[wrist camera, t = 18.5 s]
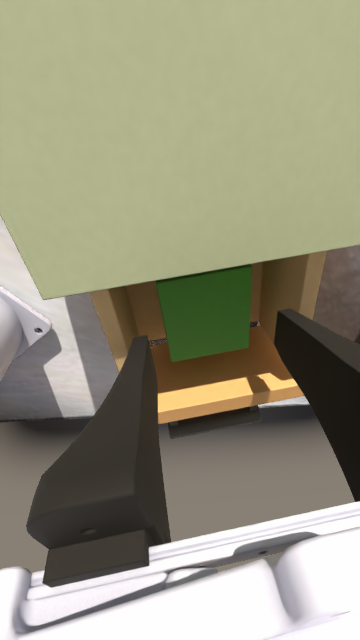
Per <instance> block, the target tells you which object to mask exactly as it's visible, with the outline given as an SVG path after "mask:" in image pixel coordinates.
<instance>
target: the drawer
mask: <svg viewBox="0 0 360 640" xmlns="http://www.w3.org/2000/svg"><path fill="white" fill-rule="evenodd" d="M326 252H327V251H322V252H317V253H311V254H305V255H299V256H294V257H288V258H282V259H277V260H271V261H265V262H259V263H254V264H251V266H252V288H251V312H250V323H251V322H256V321H259V322H260V324H261V326H256V327H250V336H249V348H245V349H240V350H234V351H229V352H224V353H218V354H213V355H208V356H202V357H197V358H191V359H186V360H181V361H175V362H172V361H171V358H170V353H169V348H168V343H163V344H157V345H152V346H150V348H151V352H152V356H153V360H154V364H155V369H156V377H157V385H158V424H162V423H167V422H168V427H169V434H170V438H171V439H174V438H179V437H184V436H189V435H194V434H199V433H204V432H209V431H214V430H219V429H224V428H230V427H235V426H240V425H245V424H250V423H255V422H259V421H261V413H260V410H259V407H258V405H260V404H265V403H270V402H275V401H280V400H285V399H291V398H296V397H301V396H304V394H303V392H302V391H301V389H300V388H299V386H298V385H297V383H296V382H295V380H294V379H293V377H292V376H291V374H290V373H289V371H288V370H287V368H286V367H285V365H284V363H283V362H282V360H281V358H280V356H279V354H278V352H277V349H276V347H275V345H274V338H275V329H276V320H277V311H279V310H284V309H292V310H294V311H296V312H298V313H300V314H302V315H304V316H305V317H307V318H309V319H311V320H312V318H313V313H314V308H315V304H316V299H317V294H318V289H319V285H320V280H321V275H322V271H323V266H324V261H325V256H326ZM89 293H90V296H91V299H92V301H93V304H94V307H95V309H96V312H97V315H98V317H99V320H100V323H101V325H102V328H103V331H104V333H105V336H106V339H107V341H108V344H109V347H110V349H111V352H112V355H113V358H114V360H115V363H116V366H117V368H118V371H119V373H120V371H121V368H122V366H123V364H124V361H125V359H126V357H127V354H128V351H129V349H130V346H131V342H132V339H133V338H134V337H139V336H144V335H147V336H148V340H149V341H152V340H158V339H163V338H166V333H165V328H164V323H163V318H162V313H161V308H160V303H159V298H158V293H157V288H156V282H155V281H150V282H145V283H139V284H133V285H127V286H122V287H116V288H110V289H105V290H99V291H93V292H89Z"/></svg>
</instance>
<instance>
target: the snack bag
mask: <svg viewBox="0 0 360 640" xmlns="http://www.w3.org/2000/svg"><path fill="white" fill-rule="evenodd" d="M155 282H156V288H157V293H158V298H159V303H160V308H161V313H162V318H163V323H164V328H165V333H166V338H167V343H168V348H169V353H170V358H171V361H172V362H175V361H181V360H186V359H191V358H197V357H202V356H208V355H213V354H218V353H224V352H229V351H234V350H240V349H245V348H249V336H250V312H251V288H252V266H251V264H248V265H242V266H236V267H231V268H225V269H219V270H213V271H208V272H202V273H196V274H191V275H185V276H179V277H173V278H168V279H162V280H156V281H155Z"/></svg>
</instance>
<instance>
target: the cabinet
mask: <svg viewBox="0 0 360 640" xmlns="http://www.w3.org/2000/svg"><path fill="white" fill-rule="evenodd" d="M0 215H1V217H2V219H3V221H4V223H5V225H6V227H7V229H8V231H9V233H10V235H11V237H12V239H13V241H14V243H15V245H16V247H17V249H18V251H19V253H20V255H21V257H22V259H23V261H24V263H25V265H26V267H27V269H28V271H29V273H30V275H31V277H32V279H33V281H34V283H35V285H36V287H37V289H38V291H39V293H40V295H41V297H42V299H43V300H47V299H53V298H59V297H64V296H70V295H76V294H82V293H87V292H93V291H99V290H105V289H110V288H116V287H122V286H127V285H133V284H139V283H145V282H150V281H156V280H162V279H168V278H173V277H179V276H185V275H191V274H196V273H202V272H208V271H213V270H219V269H225V268H231V267H236V266H242V265H248V264H254V263H259V262H265V261H271V260H277V259H282V258H288V257H294V256H299V255H305V254H311V253H317V252H322V251H328V250H334V249H340V248H345V247H351V246H357V245H360V0H0Z"/></svg>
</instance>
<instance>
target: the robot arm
mask: <svg viewBox="0 0 360 640" xmlns="http://www.w3.org/2000/svg"><path fill="white" fill-rule="evenodd" d="M36 328H40V329H41V330H42V331H39V330H37V329H36ZM51 328H52V323H51V321H49V320H48V319H47V318H45V317H44V316H42V315H41V314H40V313H38V312H37V311H35V310H34V309H33V308H31V307H30V306H28V305H27V304H25V303H24V302H23V301H21V300H20V299H18V298H17V297H15V296H14V295H13V294H11V293H10V292H8V291H7V290H5V289H4V288H3V287H1V286H0V382H1V380H2V378H3V376H4V374H5V373H6V371H7V369H8V367H9V365H10V363H11V362H12V361H13V360H15V359H16V358H17V357H18V356H20V355H21V354H22V353H23V352H24V351H26V350H27V349H28V348H29V347H31V346H32V345H33V344H34V343H35V342H37V341H38V340H39V339H40V338H42V337H43V336H44V335H45V334H46V333H48V332H49V331H50V330H51ZM274 345H275V347H276V349H277V352H278V354H279V356H280V358H281V360H282V362H283V363H284V365H285V367H286V368H287V370H288V371H289V373H290V374H291V376H292V377H293V379H294V380H295V382H296V383H297V385H298V386H299V388H300V389H301V391H302V392H303V394H304V396H305V397H306V399H307V400H308V402H309V403H310V405H311V407H312V408H313V410H314V412H315V414H316V416H317V418H318V420H319V422H320V424H321V426H322V428H323V430H324V432H325V434H326V436H327V438H328V440H329V442H330V444H331V446H332V448H333V451H334V453H335V455H336V457H337V459H338V462H339V464H340V466H341V468H342V471H343V473H344V475H345V478H346V480H347V483H348V485H349V487H350V490H351V492H352V494H353V497H354V500H355V502H353V503H349V504H344V505H340V506H336V507H331V508H326V509H322V510H317V511H312V512H308V513H303V514H299V515H294V516H290V517H286V518H281V519H276V520H271V521H267V522H263V523H258V524H253V525H249V526H244V527H240V528H235V529H230V530H226V531H221V532H217V533H212V534H208V535H203V536H199V537H194V538H189V539H185V540H180V541H176V542H171V538H170V530H169V523H168V515H167V507H166V499H165V491H164V483H163V474H162V465H161V456H160V448H159V435H158V385H157V377H156V369H155V364H154V360H153V356H152V352H151V348H150V344H149V340H148V336H147V335H144V336H139V337H134V338H133V339H132V342H131V346H130V349H129V351H128V354H127V357H126V359H125V361H124V364H123V366H122V368H121V371H120V373H119V375H118V377H117V379H116V381H115V383H114V384H113V386H112V388H111V390H110V392H109V394H108V395H107V397H106V399H105V400H104V402H103V403H102V405H101V406H100V408H99V409H98V411H97V412H96V414H95V415H94V416H93V418H92V419H91V421H90V422H89V424H88V425H87V426H86V427H85V429H84V430H83V431H82V432H81V433H80V435H79V436H78V437H77V438H76V439H75V441H74V442H73V443H72V444H71V445H70V447H69V448H68V449H67V450H66V451H65V452H64V453H63V454H62V455H61V456H60V457H59V459H57V461H56V462H55V463H54V464H53V465H52V466H51V467H50V468H49V469H48V470H47V471H46V472H45V473H44V474H43V475H42V476H41V479H40V482H39V485H38V487H37V490H36V492H35V495H34V499H33V502H32V506H31V510H30V514H29V517H28V521H27V525H26V527H27V531H28V533H29V534H30V535H31V536H32V537H33V538H34V539H36V540H37V541H38V542H40V543H41V544H43V545H44V546H45V547H47V548H48V549H49V551H48V556H47V562H46V566H45V570H43V571H39V572H35V573H31V572H30V571H29V570H28V569H26V568H24V567H9V568H4V569H0V640H360V344H358V343H355V342H353V341H351V340H349V339H347V338H345V337H343V336H341V335H339V334H337V333H335V332H333V331H331V330H329V329H327V328H325V327H323V326H322V325H320V324H318V323H316V322H314V321H313V320H311V319H309V318H307V317H305V316H304V315H302V314H300V313H298V312H296V311H294V310H292V309H284V310H279V311H277V320H276V329H275V338H274ZM280 552H281V553H280ZM275 553H278V554H275ZM271 554H275V555H271ZM267 555H271V556H268V557H265V558H262V559H259V560H256V561H253V562H249V563H246V564H243V565H240V566H237V567H234V568H231V569H228V570H225V571H221V572H218V571H217V569H216V568H214V567H218V566H222V565H226V564H231V563H235V562H239V561H244V560H248V559H253V558H258V557H262V556H267Z"/></svg>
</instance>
